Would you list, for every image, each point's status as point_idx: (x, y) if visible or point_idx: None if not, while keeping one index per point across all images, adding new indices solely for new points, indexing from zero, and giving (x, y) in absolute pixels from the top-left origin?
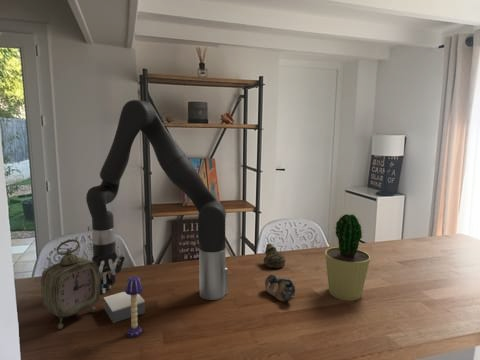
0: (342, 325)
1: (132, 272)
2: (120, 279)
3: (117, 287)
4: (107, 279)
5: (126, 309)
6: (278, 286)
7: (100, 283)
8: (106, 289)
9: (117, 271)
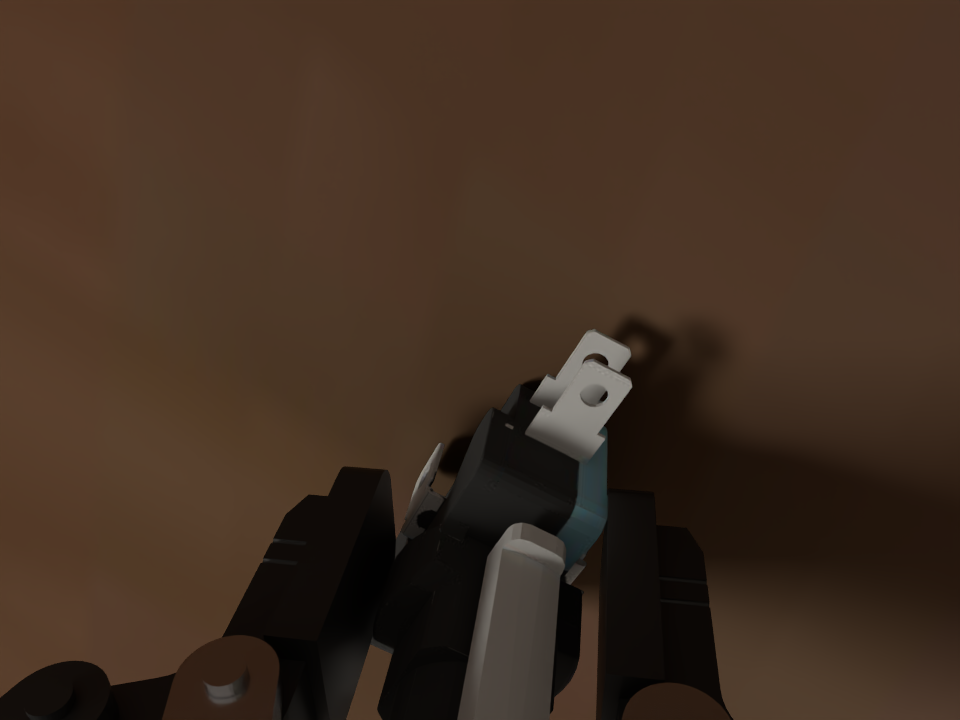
0: None
1: None
2: None
3: (300, 432)
4: (441, 611)
5: None
6: None
7: (637, 566)
8: (524, 412)
9: (93, 703)
